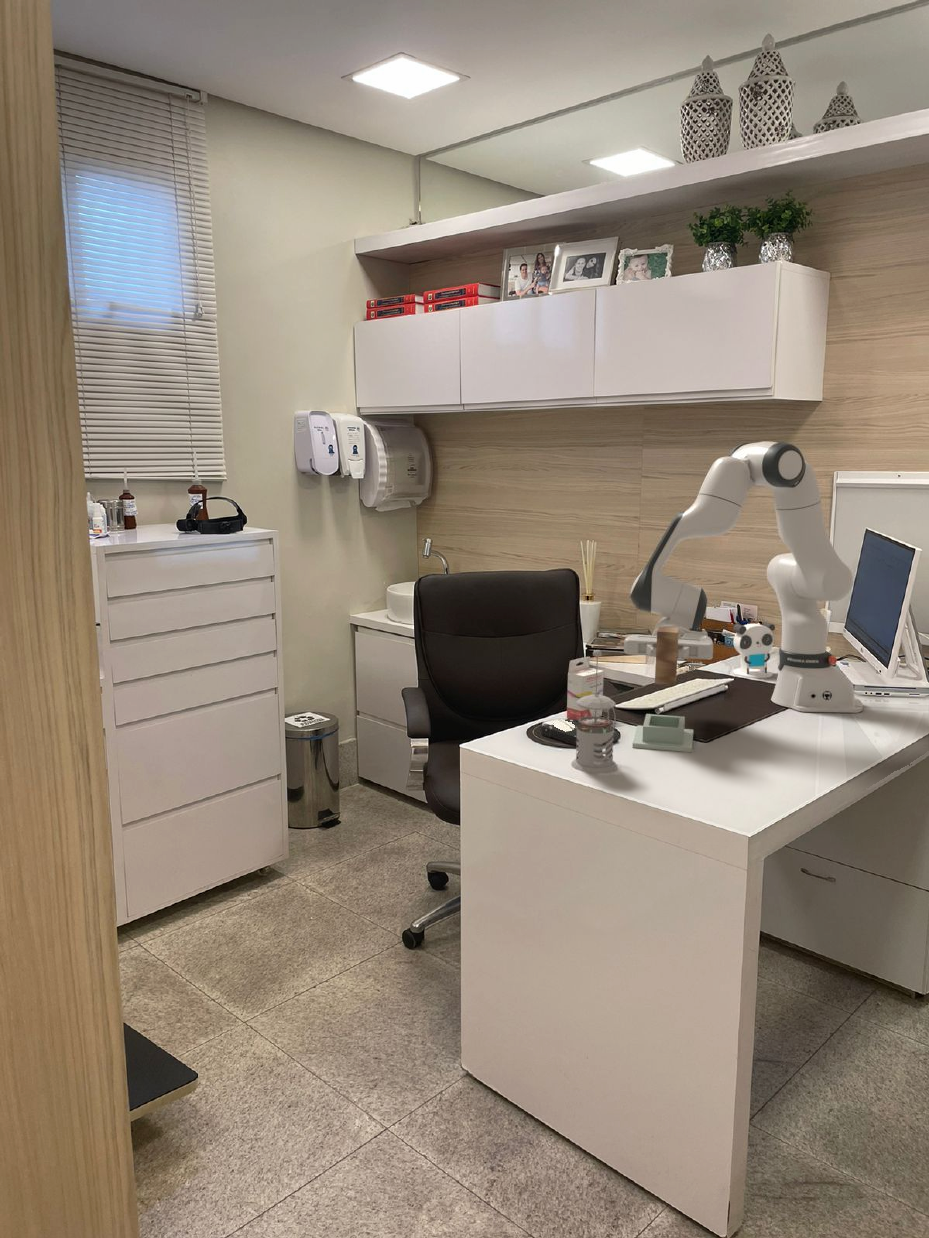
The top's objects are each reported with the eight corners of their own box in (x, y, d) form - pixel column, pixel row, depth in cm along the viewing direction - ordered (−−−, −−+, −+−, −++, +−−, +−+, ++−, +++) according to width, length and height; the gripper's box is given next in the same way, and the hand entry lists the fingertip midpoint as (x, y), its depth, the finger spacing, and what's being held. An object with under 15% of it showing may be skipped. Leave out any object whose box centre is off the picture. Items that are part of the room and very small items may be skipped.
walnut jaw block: (676, 678, 216) (678, 627, 213) (675, 685, 210) (677, 632, 208) (656, 677, 217) (658, 626, 215) (654, 683, 211) (657, 631, 209)
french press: (561, 765, 199) (564, 650, 195) (591, 752, 208) (594, 641, 203) (601, 776, 193) (605, 657, 188) (630, 761, 202) (634, 648, 197)
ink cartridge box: (581, 722, 230) (583, 664, 227) (566, 718, 233) (567, 660, 231) (603, 715, 236) (604, 658, 233) (587, 711, 239) (589, 655, 236)
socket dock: (693, 733, 221) (694, 715, 220) (691, 752, 208) (692, 732, 207) (637, 729, 224) (638, 711, 224) (632, 747, 211) (633, 728, 210)
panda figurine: (743, 679, 272) (746, 628, 270) (723, 670, 283) (726, 621, 280) (780, 676, 275) (783, 626, 272) (759, 667, 286) (762, 619, 283)
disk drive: (540, 737, 220) (588, 752, 209) (540, 726, 220) (588, 739, 209) (570, 728, 227) (618, 742, 216) (570, 717, 227) (618, 730, 216)
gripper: (626, 626, 227) (620, 637, 213) (713, 631, 222) (713, 643, 208) (625, 651, 228) (619, 664, 215) (712, 657, 223) (712, 670, 210)
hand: (666, 654), depth 211 cm, fingers closed on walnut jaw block, 4 cm apart
